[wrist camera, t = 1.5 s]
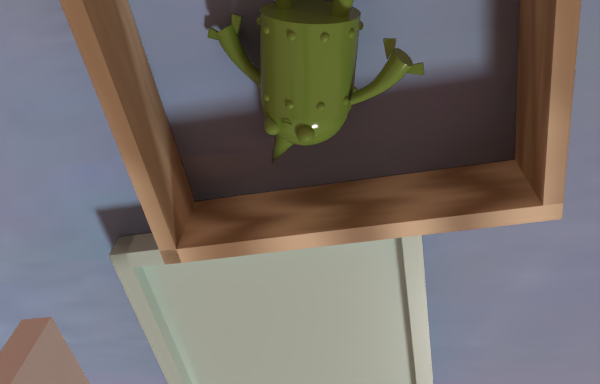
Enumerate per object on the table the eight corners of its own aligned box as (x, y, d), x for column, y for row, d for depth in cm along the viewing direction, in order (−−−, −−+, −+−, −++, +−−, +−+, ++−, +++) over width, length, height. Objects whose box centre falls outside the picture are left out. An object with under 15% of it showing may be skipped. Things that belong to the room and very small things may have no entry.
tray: (199, 419, 47) (194, 440, 45) (118, 236, 37) (108, 255, 35) (432, 402, 44) (436, 423, 42) (415, 200, 34) (420, 218, 32)
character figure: (425, -39, 20) (386, 224, 26) (456, -54, 24) (416, 178, 30) (173, -66, 24) (192, 165, 31) (235, -75, 28) (240, 131, 35)
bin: (184, 216, 35) (164, 264, 31) (78, -86, 26) (29, -75, 22) (531, 171, 32) (561, 218, 28) (549, -186, 23) (598, -195, 19)
